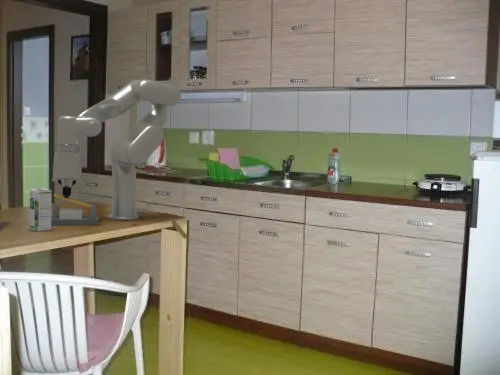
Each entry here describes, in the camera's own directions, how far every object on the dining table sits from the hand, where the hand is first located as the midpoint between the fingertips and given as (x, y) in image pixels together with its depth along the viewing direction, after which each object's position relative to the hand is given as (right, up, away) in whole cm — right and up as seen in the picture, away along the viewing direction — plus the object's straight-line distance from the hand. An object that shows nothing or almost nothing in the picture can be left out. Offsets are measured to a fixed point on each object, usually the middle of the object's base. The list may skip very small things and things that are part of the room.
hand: (66, 197), depth 203 cm
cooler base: (+2, -10, +2) cm, 10 cm away
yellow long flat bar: (+2, -2, +1) cm, 3 cm away
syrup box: (-5, -12, -13) cm, 18 cm away
